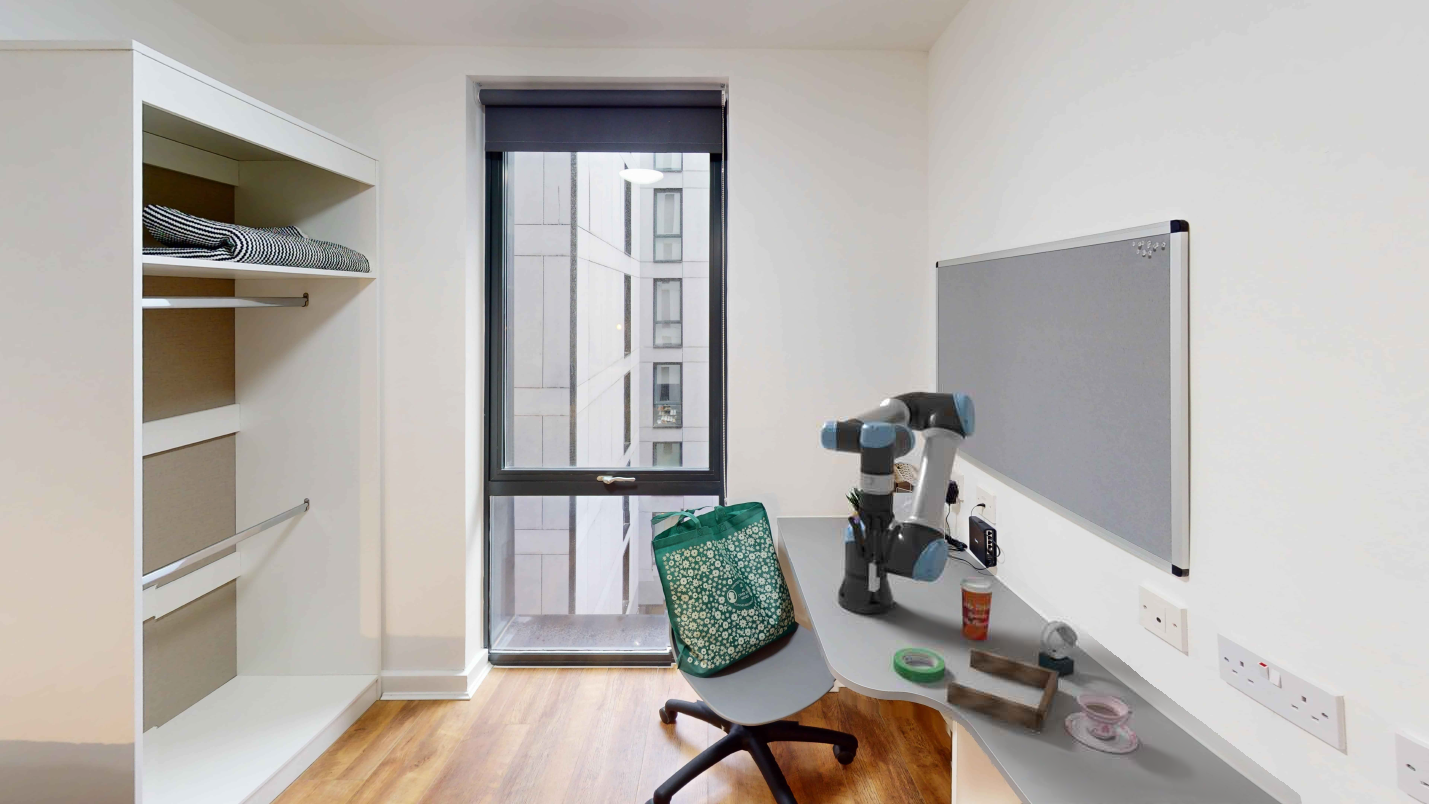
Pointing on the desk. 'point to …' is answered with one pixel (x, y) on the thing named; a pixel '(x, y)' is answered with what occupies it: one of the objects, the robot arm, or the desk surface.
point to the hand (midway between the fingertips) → (874, 589)
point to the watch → (1059, 658)
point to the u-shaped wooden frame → (1002, 706)
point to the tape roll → (918, 673)
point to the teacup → (1102, 723)
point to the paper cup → (976, 607)
